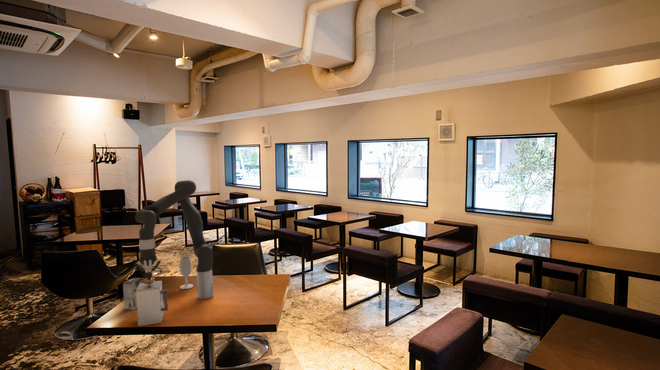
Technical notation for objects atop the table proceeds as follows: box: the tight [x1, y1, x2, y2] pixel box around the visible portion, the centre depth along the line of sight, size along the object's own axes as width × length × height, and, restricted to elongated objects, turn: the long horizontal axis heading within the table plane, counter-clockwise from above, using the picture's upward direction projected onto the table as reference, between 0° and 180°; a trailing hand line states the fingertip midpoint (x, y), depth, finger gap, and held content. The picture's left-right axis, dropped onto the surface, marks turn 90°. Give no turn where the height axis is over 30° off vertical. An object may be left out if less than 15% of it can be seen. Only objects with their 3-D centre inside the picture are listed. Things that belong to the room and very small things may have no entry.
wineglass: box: [178, 255, 194, 290], centre depth 241 cm, size 9×9×21 cm
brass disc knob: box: [143, 276, 155, 286], centre depth 192 cm, size 8×8×20 cm
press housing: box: [136, 280, 169, 327], centre depth 193 cm, size 14×11×20 cm
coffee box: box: [122, 277, 144, 310], centre depth 211 cm, size 9×6×16 cm
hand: (149, 278), depth 191 cm, fingers closed
